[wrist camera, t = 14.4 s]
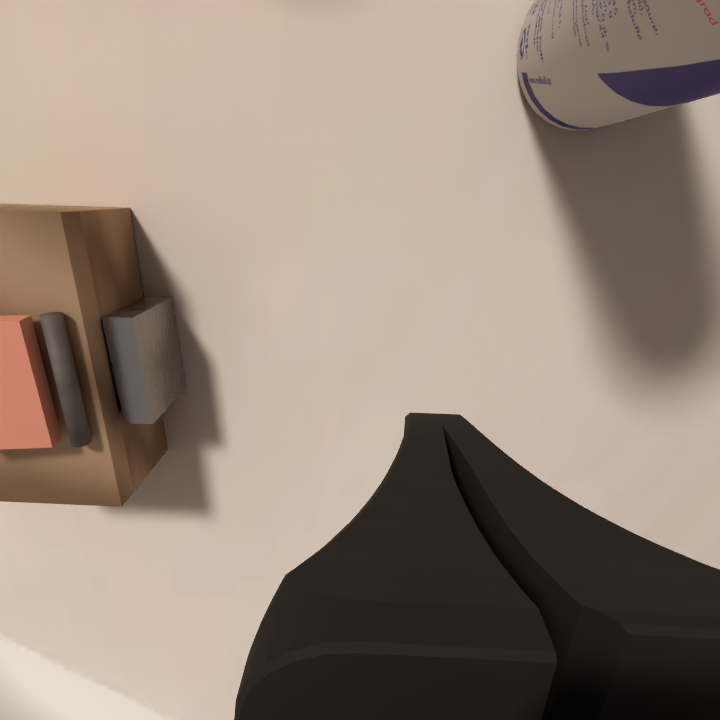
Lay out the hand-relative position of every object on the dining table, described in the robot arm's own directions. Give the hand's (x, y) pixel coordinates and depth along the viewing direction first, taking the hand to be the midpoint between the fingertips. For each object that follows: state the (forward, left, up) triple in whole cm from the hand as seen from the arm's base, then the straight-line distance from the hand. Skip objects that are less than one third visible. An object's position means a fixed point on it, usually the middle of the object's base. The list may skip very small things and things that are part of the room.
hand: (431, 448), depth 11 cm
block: (-1, +15, -10) cm, 18 cm away
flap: (-1, +13, -5) cm, 14 cm away
